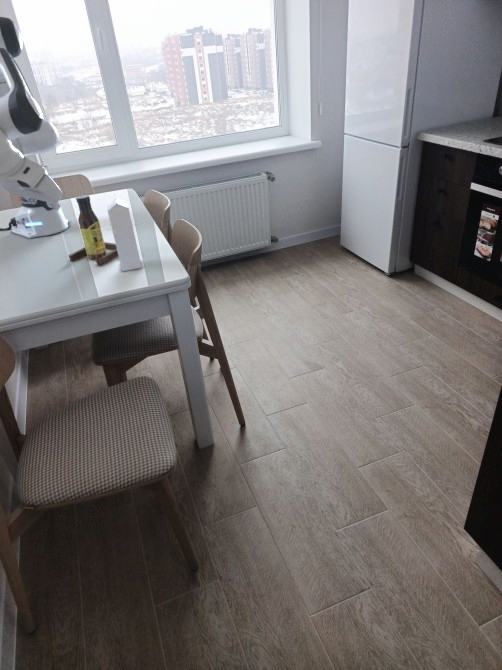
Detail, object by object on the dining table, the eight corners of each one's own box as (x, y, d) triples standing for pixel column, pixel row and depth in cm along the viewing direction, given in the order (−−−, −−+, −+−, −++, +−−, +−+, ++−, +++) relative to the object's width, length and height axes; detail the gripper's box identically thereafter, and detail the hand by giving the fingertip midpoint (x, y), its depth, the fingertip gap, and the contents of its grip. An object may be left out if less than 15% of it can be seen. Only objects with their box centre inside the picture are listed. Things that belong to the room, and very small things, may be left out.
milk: (122, 271, 145) (104, 200, 134) (121, 264, 150) (103, 195, 139) (142, 267, 147) (126, 196, 135) (140, 260, 152) (124, 191, 140)
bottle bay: (70, 260, 156) (68, 255, 155) (98, 246, 166) (97, 240, 165) (100, 266, 150) (98, 260, 149) (127, 250, 160) (126, 245, 159)
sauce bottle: (102, 260, 154) (85, 199, 144) (84, 260, 155) (67, 200, 145) (110, 252, 159) (95, 193, 149) (93, 252, 161) (78, 194, 150)
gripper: (-20, 173, 129) (14, 207, 141) (34, 185, 121) (65, 220, 133) (-6, 156, 131) (26, 191, 143) (47, 166, 123) (77, 202, 135)
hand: (45, 205), depth 138 cm, fingers open, 8 cm apart
